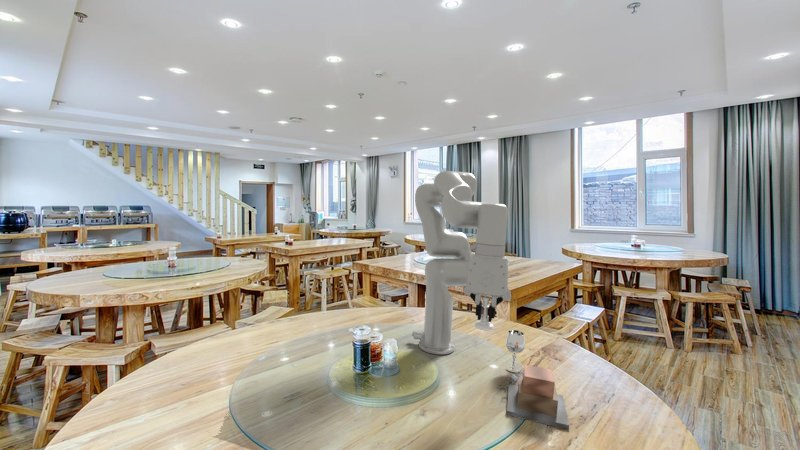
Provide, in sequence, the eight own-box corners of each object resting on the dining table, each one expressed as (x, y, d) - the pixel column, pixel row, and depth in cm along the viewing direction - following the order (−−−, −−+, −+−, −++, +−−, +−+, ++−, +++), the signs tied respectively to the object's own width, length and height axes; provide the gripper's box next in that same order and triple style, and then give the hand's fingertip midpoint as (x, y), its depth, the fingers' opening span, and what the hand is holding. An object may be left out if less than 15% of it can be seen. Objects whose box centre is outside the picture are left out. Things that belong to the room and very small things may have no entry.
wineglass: (523, 368, 114) (526, 331, 113) (521, 376, 108) (524, 337, 107) (505, 364, 116) (507, 328, 115) (502, 371, 111) (505, 333, 110)
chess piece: (494, 331, 92) (496, 293, 91) (474, 329, 93) (477, 291, 92) (493, 325, 96) (496, 288, 96) (474, 322, 97) (477, 286, 97)
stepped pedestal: (506, 414, 88) (509, 379, 87) (508, 387, 101) (511, 356, 100) (568, 429, 83) (572, 392, 83) (562, 398, 97) (565, 366, 96)
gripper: (456, 249, 92) (452, 318, 94) (521, 255, 87) (515, 329, 88) (461, 246, 99) (457, 310, 101) (522, 252, 94) (516, 320, 95)
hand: (484, 318), depth 94 cm, fingers closed on chess piece
